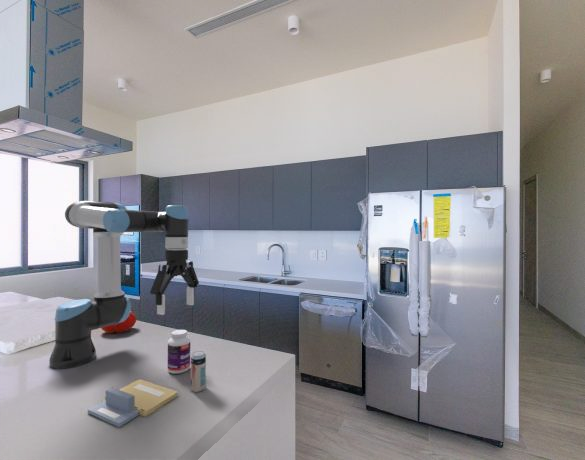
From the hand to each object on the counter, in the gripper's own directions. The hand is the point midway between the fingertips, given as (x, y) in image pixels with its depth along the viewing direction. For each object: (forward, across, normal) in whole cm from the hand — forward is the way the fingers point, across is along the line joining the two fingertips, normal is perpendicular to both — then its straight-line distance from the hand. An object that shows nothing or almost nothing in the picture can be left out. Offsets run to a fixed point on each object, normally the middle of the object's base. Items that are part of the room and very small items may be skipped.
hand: (176, 309), depth 105 cm
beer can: (+25, -1, -11) cm, 28 cm away
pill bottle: (+25, +6, +5) cm, 26 cm away
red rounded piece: (+25, +25, +64) cm, 73 cm away
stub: (+25, -22, +2) cm, 33 cm away
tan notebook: (+25, -13, +1) cm, 28 cm away
